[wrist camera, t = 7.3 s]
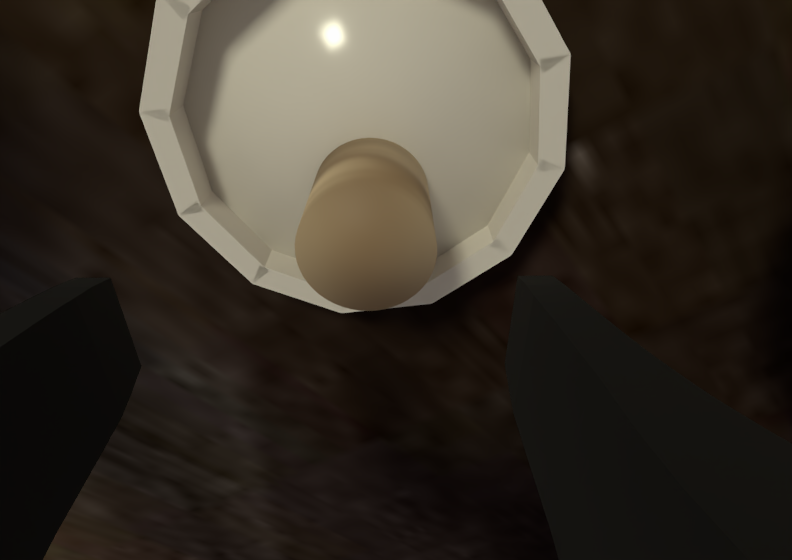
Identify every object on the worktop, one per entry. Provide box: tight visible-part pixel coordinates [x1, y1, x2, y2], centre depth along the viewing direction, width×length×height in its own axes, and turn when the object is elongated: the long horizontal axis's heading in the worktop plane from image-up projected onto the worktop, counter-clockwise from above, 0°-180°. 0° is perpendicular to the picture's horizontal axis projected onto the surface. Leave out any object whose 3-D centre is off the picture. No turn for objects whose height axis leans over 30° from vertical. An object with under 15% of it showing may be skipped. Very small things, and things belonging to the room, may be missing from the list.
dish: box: [139, 0, 571, 313], centre depth 16 cm, size 12×12×2 cm
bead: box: [295, 138, 437, 311], centre depth 16 cm, size 4×4×4 cm
